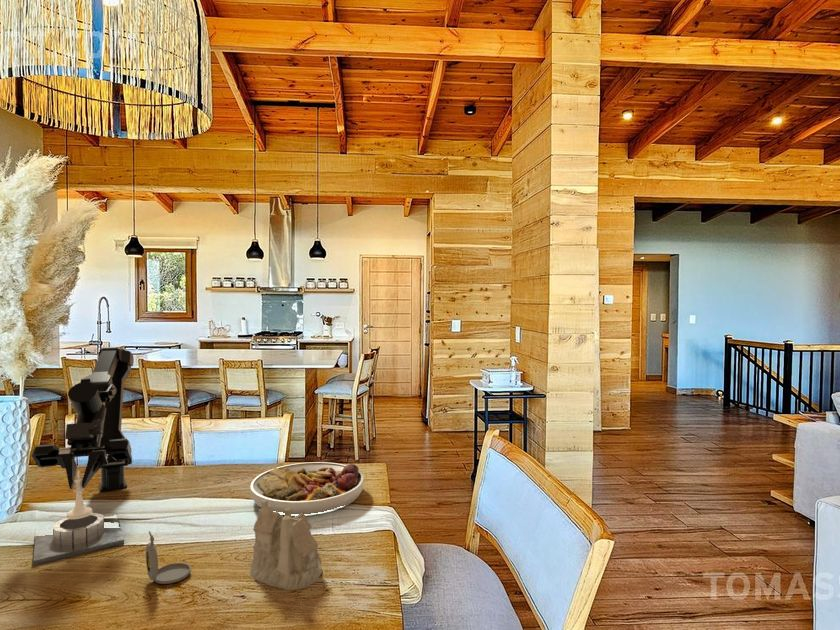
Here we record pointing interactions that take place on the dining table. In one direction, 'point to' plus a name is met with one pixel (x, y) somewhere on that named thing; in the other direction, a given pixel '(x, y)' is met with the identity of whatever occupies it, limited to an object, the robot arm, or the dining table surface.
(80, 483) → the chess piece
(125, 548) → the dining table surface
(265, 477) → the bowl
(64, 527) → the lens mount
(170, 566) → the pocket watch
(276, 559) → the grey brown rock formation
